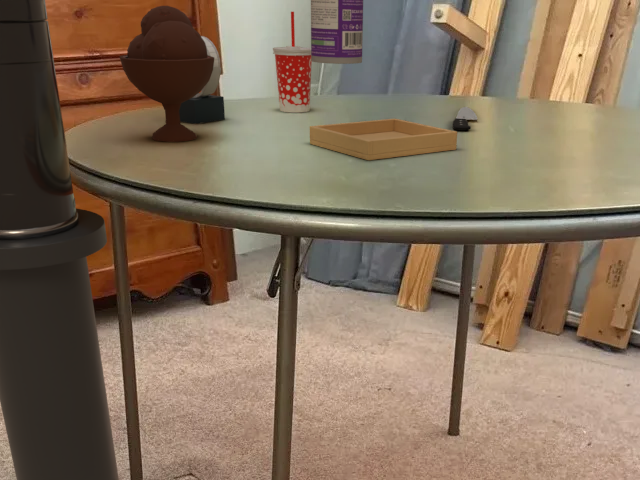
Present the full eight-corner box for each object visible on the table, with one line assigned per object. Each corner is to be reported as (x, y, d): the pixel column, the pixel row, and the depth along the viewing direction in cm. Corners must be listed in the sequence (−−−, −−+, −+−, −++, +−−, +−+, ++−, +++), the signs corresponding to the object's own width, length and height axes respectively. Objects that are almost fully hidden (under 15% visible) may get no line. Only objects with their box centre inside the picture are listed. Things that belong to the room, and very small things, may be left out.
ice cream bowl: (113, 136, 99) (96, 4, 93) (191, 128, 106) (182, 4, 99) (154, 148, 92) (140, 7, 86) (235, 139, 99) (228, 7, 92)
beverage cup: (306, 114, 120) (304, 12, 114) (268, 111, 121) (264, 11, 115) (320, 109, 125) (319, 11, 119) (284, 106, 127) (281, 10, 121)
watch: (194, 115, 117) (187, 34, 112) (233, 120, 113) (228, 36, 108) (164, 119, 113) (156, 35, 108) (204, 125, 108) (198, 38, 104)
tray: (368, 160, 89) (368, 141, 88) (309, 143, 97) (309, 126, 96) (456, 149, 96) (457, 131, 95) (394, 134, 104) (395, 118, 104)
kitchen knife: (472, 131, 108) (472, 127, 108) (449, 130, 108) (450, 127, 108) (479, 107, 128) (479, 104, 128) (461, 107, 129) (461, 103, 128)
